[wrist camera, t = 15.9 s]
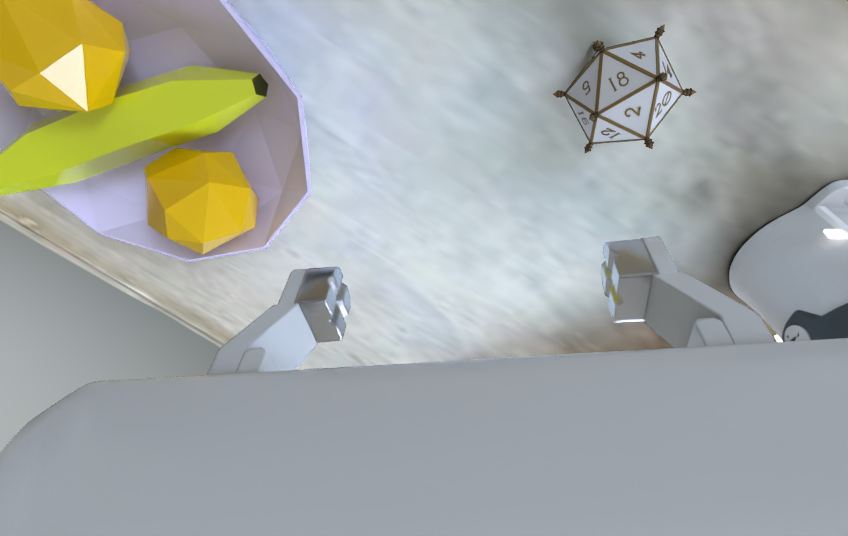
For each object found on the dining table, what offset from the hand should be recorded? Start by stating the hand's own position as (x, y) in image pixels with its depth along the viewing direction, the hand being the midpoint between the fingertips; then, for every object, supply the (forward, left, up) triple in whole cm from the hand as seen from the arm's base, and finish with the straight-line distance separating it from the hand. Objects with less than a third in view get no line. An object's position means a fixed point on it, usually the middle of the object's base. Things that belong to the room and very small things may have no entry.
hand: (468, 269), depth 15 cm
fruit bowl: (+27, +3, -29) cm, 40 cm away
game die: (-11, +6, -29) cm, 32 cm away
